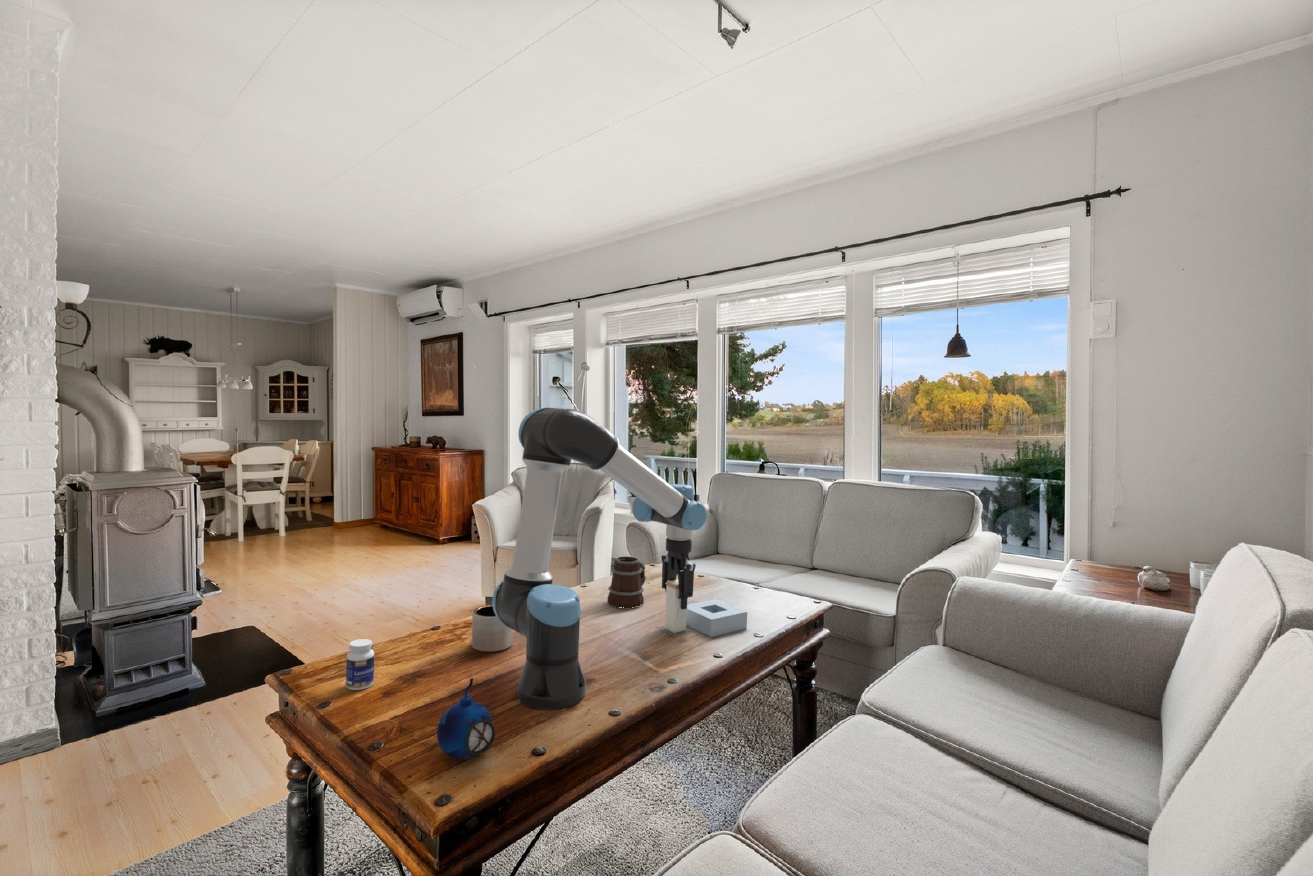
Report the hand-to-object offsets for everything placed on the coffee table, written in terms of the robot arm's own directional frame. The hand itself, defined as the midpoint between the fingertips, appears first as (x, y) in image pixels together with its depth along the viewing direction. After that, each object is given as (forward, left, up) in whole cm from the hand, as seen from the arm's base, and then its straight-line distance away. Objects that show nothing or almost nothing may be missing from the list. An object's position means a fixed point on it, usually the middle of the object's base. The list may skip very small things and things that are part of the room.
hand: (675, 616), depth 181 cm
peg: (0, 0, -4) cm, 4 cm away
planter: (-49, +17, -5) cm, 52 cm away
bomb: (-72, -32, -5) cm, 79 cm away
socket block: (+12, -3, -5) cm, 13 cm away
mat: (0, 0, -5) cm, 5 cm away
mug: (+4, +31, -5) cm, 32 cm away
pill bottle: (-83, +9, -5) cm, 84 cm away
